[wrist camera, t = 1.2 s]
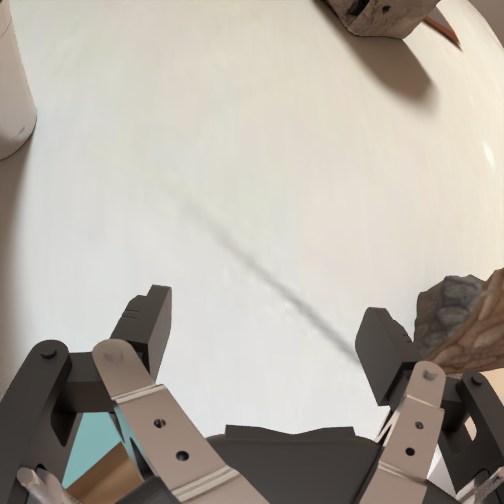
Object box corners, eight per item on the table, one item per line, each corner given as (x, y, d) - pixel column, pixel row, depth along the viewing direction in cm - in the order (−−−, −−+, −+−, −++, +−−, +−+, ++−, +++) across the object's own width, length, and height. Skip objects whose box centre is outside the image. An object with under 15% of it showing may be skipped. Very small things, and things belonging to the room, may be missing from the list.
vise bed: (20, 440, 20) (6, 452, 17) (96, 366, 25) (89, 372, 21) (165, 553, 21) (170, 574, 18) (241, 492, 26) (254, 509, 22)
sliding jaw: (29, 446, 20) (19, 457, 17) (94, 384, 23) (89, 390, 21) (65, 481, 20) (58, 494, 17) (131, 421, 24) (131, 431, 21)
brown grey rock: (415, 281, 39) (546, 244, 21) (464, 298, 43) (572, 273, 24) (405, 376, 36) (547, 377, 17) (457, 378, 39) (571, 375, 20)
